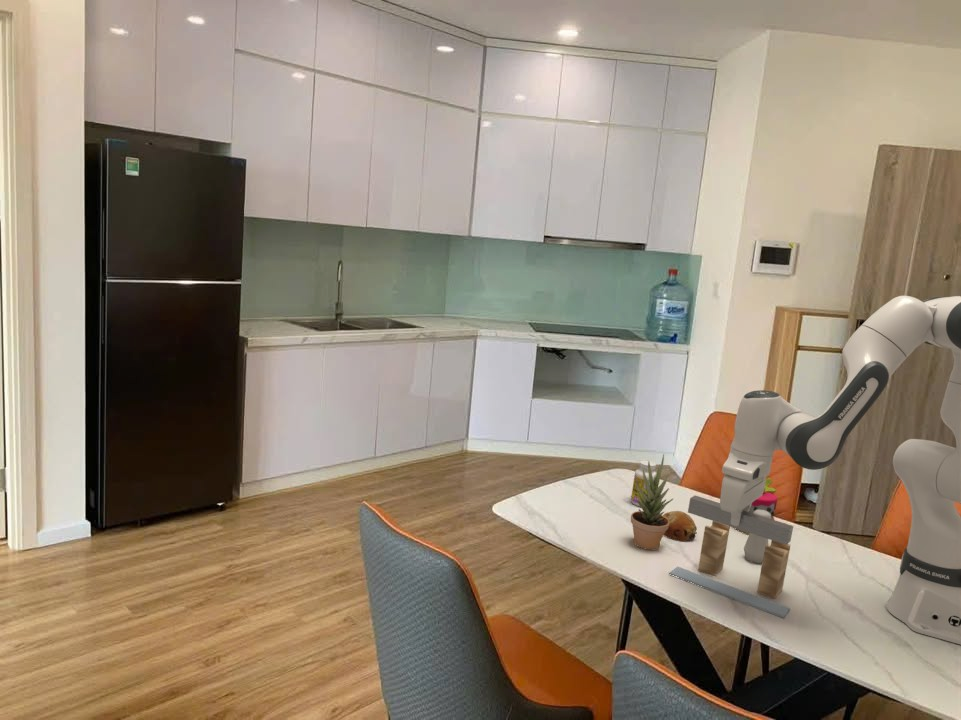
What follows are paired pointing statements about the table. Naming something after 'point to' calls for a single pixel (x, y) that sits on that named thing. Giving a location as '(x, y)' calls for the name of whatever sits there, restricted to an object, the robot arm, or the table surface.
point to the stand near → (773, 569)
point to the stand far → (713, 548)
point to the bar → (742, 520)
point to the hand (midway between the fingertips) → (738, 522)
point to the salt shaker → (756, 542)
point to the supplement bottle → (641, 480)
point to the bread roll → (680, 526)
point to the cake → (765, 501)
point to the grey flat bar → (732, 592)
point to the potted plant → (650, 512)
